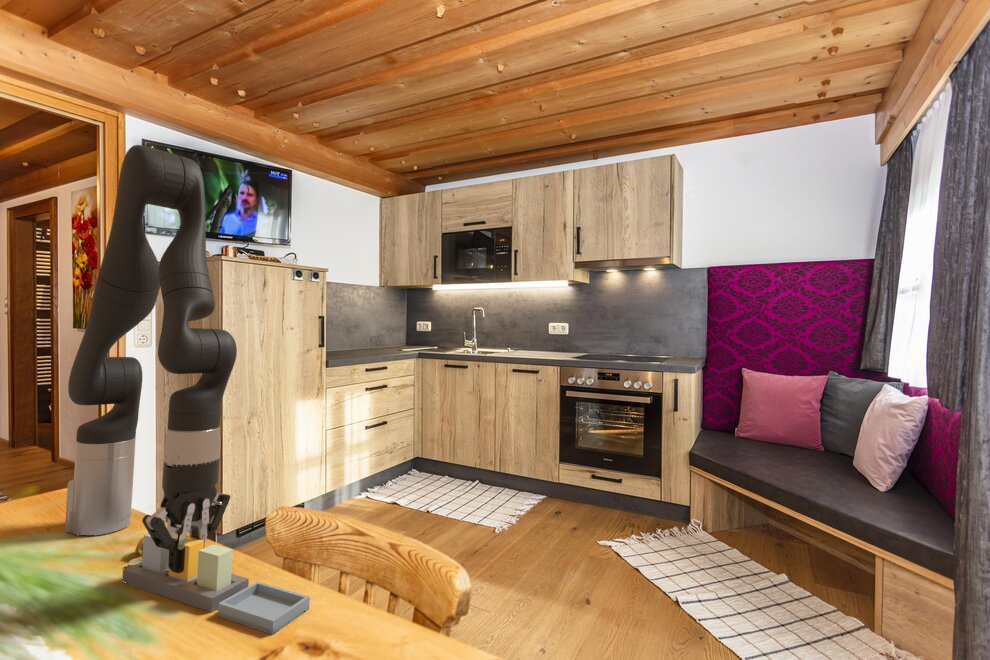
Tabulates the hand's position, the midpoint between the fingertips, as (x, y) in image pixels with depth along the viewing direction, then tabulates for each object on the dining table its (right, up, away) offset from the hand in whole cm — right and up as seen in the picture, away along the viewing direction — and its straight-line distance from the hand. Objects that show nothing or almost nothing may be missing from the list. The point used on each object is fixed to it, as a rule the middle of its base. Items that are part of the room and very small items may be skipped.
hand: (185, 567), depth 78 cm
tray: (+15, -4, -6) cm, 16 cm away
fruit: (-11, -3, +8) cm, 14 cm away
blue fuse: (-6, -3, +2) cm, 7 cm away
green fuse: (+5, -3, -2) cm, 7 cm away
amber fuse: (0, -3, 0) cm, 3 cm away
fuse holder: (0, -3, 0) cm, 3 cm away
